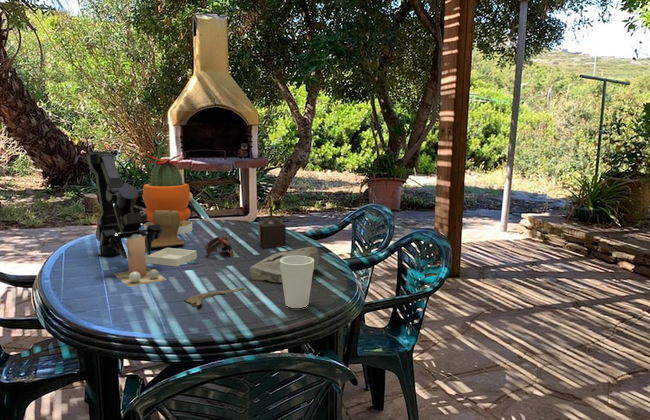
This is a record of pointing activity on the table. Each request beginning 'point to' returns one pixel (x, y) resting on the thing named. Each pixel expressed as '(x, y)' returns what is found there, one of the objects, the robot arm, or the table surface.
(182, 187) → the potted cactus
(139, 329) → the table surface
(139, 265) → the terracotta jar
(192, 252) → the cream dish
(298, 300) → the foam cup
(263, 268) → the stone
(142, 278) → the beech board
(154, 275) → the grey pebble
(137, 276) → the white pebble
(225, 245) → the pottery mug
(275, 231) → the brown potted sapling
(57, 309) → the table surface
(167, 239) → the brown flared stand
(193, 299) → the jawbone
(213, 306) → the table surface
